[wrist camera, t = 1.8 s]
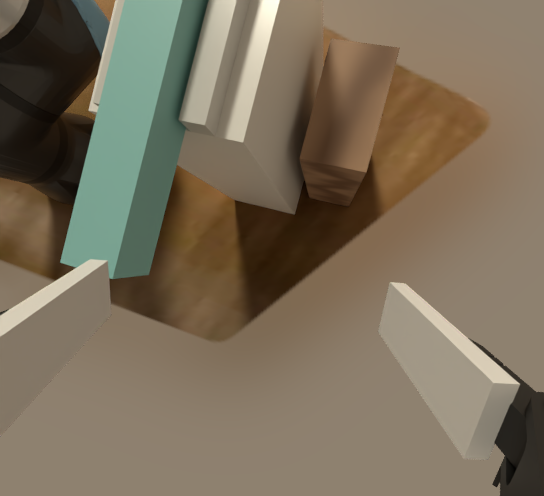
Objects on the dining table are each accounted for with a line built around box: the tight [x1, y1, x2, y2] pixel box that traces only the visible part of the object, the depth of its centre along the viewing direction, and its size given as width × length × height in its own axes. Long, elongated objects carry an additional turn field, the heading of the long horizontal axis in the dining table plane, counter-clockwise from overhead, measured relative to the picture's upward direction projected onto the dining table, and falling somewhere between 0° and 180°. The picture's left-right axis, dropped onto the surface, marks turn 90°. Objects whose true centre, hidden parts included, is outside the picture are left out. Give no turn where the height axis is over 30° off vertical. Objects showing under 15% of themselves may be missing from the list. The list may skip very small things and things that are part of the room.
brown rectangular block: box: [299, 39, 400, 207], centre depth 36 cm, size 6×11×19 cm, turn 165°
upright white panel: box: [89, 0, 323, 215], centre depth 31 cm, size 10×17×32 cm, turn 165°
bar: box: [60, 0, 209, 279], centre depth 16 cm, size 3×24×3 cm, turn 165°
